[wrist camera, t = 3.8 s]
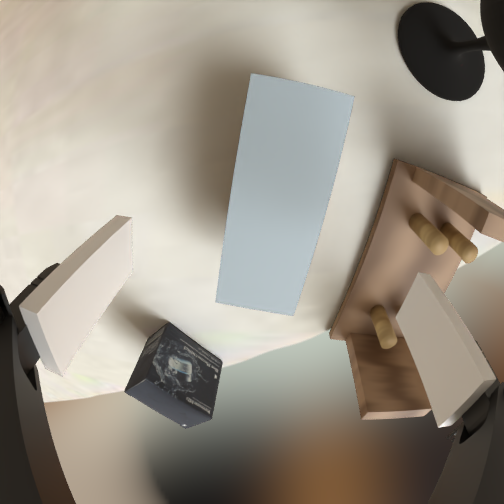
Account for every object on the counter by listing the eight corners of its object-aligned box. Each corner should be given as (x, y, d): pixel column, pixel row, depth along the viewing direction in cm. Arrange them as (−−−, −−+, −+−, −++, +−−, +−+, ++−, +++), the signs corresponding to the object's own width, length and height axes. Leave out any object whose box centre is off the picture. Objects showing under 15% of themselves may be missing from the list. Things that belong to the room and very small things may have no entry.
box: (225, 360, 37) (214, 420, 29) (199, 374, 39) (185, 430, 31) (169, 319, 34) (144, 379, 26) (147, 338, 36) (122, 393, 28)
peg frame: (329, 333, 33) (342, 419, 23) (393, 158, 23) (468, 203, 12) (409, 341, 33) (437, 414, 23) (481, 193, 23) (554, 245, 13)
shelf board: (221, 280, 24) (215, 302, 22) (254, 78, 17) (251, 73, 14) (291, 292, 25) (293, 316, 22) (343, 97, 17) (354, 96, 14)
